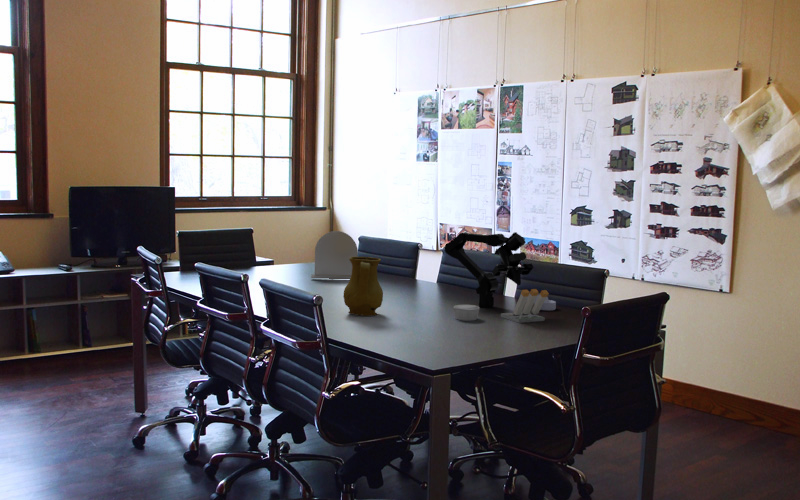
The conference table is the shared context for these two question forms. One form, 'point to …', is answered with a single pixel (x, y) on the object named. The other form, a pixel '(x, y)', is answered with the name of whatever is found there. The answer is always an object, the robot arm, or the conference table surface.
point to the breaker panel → (522, 317)
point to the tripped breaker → (539, 302)
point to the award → (334, 256)
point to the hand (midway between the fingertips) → (519, 284)
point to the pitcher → (363, 287)
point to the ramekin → (466, 312)
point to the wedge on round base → (547, 304)
